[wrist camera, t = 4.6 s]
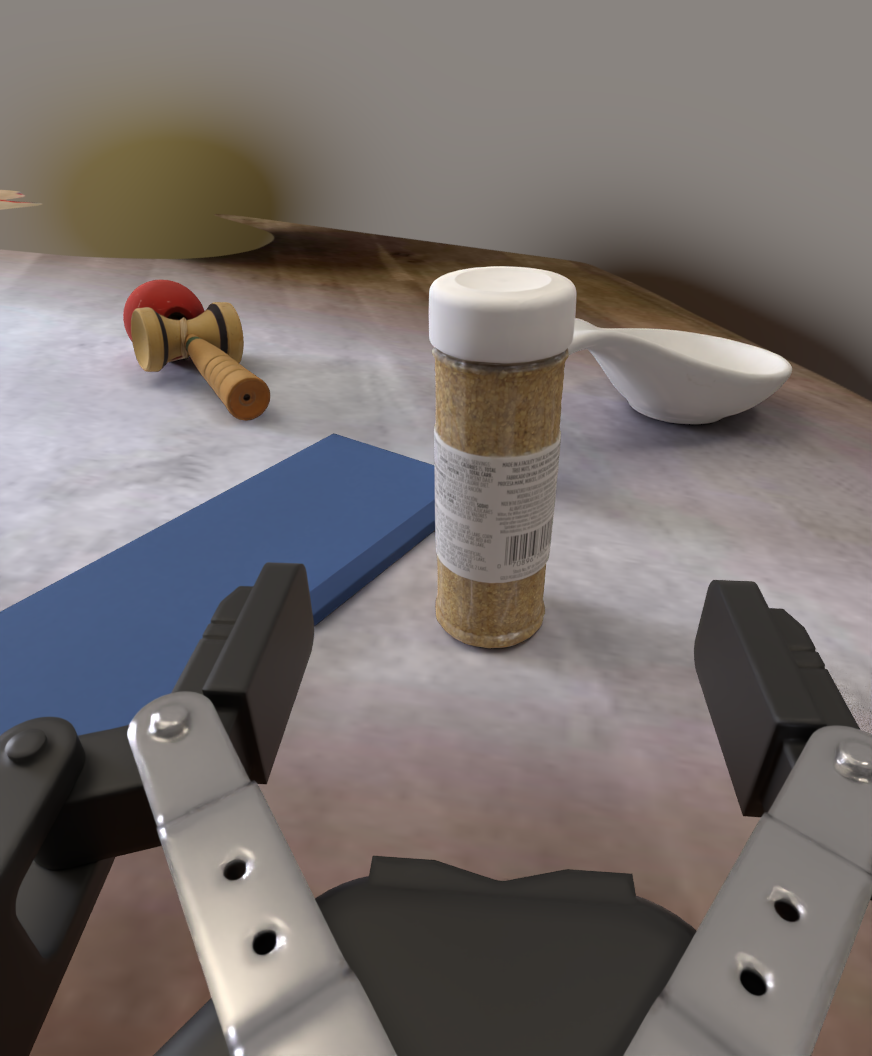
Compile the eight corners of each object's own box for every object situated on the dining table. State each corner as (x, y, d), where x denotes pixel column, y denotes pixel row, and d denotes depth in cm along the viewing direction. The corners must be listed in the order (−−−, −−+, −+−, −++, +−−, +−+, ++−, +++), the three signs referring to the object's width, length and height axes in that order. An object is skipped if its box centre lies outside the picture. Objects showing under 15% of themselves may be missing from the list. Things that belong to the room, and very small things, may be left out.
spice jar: (511, 572, 31) (531, 257, 24) (565, 635, 28) (609, 287, 20) (416, 598, 30) (406, 270, 22) (461, 668, 26) (466, 305, 19)
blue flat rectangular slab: (74, 818, 21) (68, 805, 21) (-92, 670, 26) (-99, 658, 26) (487, 488, 37) (487, 478, 37) (334, 438, 43) (333, 430, 42)
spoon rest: (663, 365, 53) (683, 267, 49) (812, 415, 45) (848, 302, 41) (411, 441, 41) (410, 318, 37) (553, 527, 33) (571, 382, 29)
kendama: (315, 418, 48) (210, 323, 59) (296, 337, 44) (185, 249, 54) (213, 467, 45) (121, 357, 56) (181, 385, 41) (87, 283, 51)
